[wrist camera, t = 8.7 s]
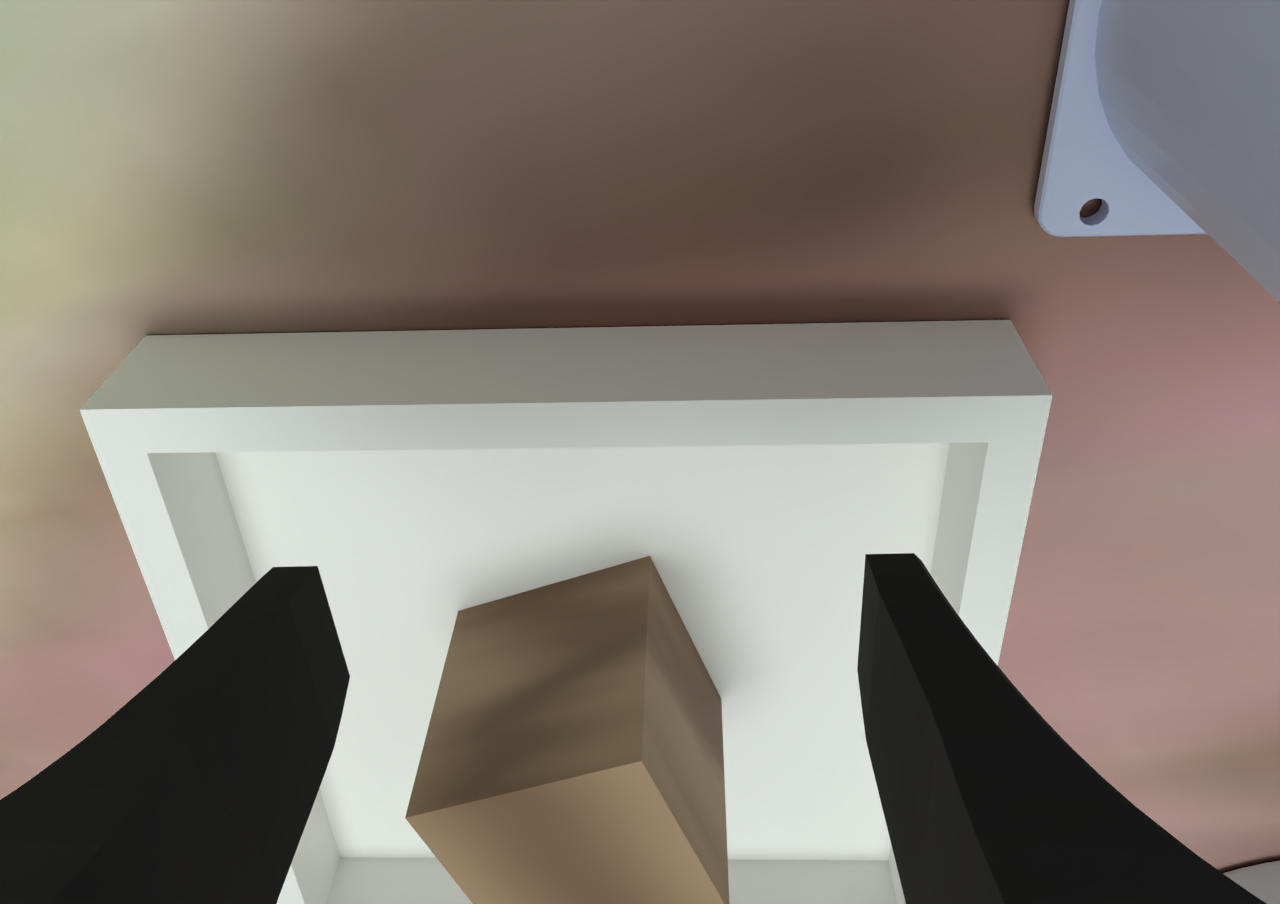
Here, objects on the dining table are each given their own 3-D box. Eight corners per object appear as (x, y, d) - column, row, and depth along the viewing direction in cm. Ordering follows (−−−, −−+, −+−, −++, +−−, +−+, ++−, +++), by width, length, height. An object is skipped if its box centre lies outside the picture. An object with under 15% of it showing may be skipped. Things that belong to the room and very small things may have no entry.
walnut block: (649, 555, 25) (641, 761, 20) (721, 698, 27) (729, 913, 22) (458, 610, 26) (404, 818, 21) (543, 743, 29) (514, 956, 24)
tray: (1010, 319, 22) (1052, 395, 19) (917, 866, 32) (936, 963, 29) (145, 335, 23) (79, 409, 20) (318, 863, 33) (288, 956, 30)
